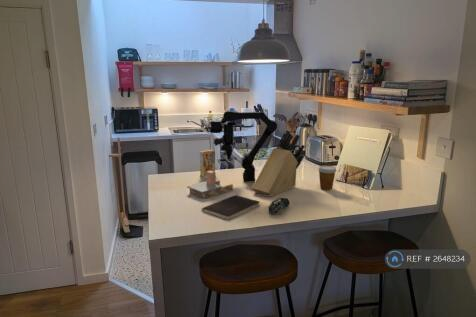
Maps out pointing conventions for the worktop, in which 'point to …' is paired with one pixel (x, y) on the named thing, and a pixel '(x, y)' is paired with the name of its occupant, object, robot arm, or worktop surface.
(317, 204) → the worktop surface
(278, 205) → the stun grenade
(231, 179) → the worktop surface
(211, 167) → the candy box
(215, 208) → the hardcover book
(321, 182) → the disposable coffee cup
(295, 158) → the knife block
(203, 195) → the oak box
